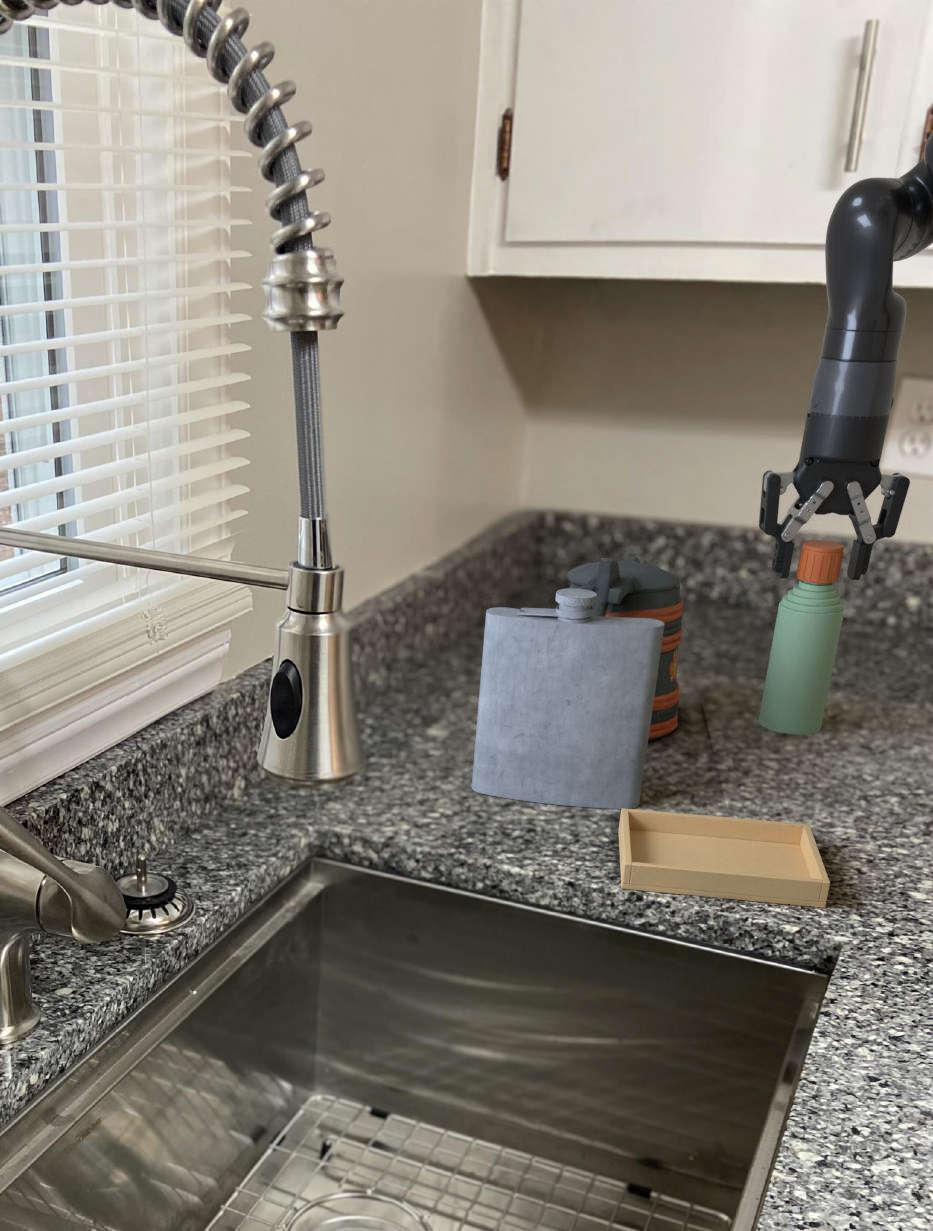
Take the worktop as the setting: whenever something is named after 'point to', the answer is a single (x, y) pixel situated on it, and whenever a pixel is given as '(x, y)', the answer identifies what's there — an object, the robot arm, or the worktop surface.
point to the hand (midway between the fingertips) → (817, 577)
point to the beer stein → (641, 596)
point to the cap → (820, 561)
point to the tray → (721, 858)
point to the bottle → (802, 659)
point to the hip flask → (565, 704)
